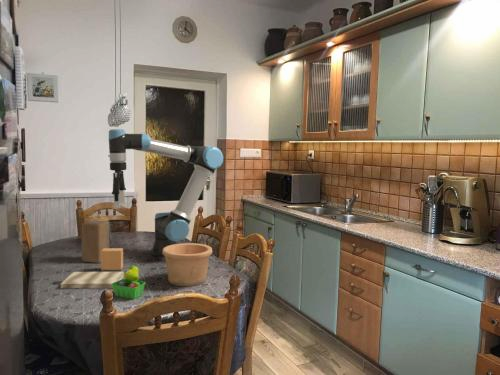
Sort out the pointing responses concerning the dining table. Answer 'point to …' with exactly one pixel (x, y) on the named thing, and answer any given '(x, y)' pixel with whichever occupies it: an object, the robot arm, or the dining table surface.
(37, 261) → the dining table surface
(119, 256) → the block
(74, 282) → the birch board
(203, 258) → the pottery
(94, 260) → the wooden block
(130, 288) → the fruit basket
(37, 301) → the dining table surface
